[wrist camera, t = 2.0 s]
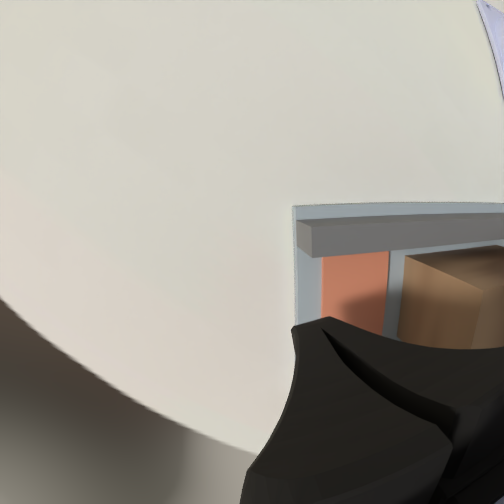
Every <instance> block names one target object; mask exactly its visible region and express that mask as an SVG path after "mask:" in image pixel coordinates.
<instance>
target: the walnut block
mask: <svg viewBox="0 0 504 504" xmlns="http://www.w3.org/2000/svg"><path fill="white" fill-rule="evenodd" d="M397 337H398V338H399V339H400V340H401V341H402V342H406V343H411V344H416V345H421V346H427V347H435V348H447V349H486V348H497V347H504V247H502V246H499V245H490V246H482V247H474V248H465V249H457V250H449V251H440V252H431V253H422V254H414V255H405V260H404V275H403V286H402V297H401V306H400V314H399V322H398V329H397Z"/></svg>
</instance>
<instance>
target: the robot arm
mask: <svg viewBox="0 0 504 504" xmlns="http://www.w3.org/2000/svg"><path fill="white" fill-rule="evenodd" d="M476 3H477V6H478V8H479V11H480V14H481V16H482V19H483V22H484V25H485V27H486V30H487V33H488V37H489V40H490V43H491V46H492V50H493V53H494V57H495V61H496V64H497V68H498V73H499V77H500V81H501V86H502V91H503V96H504V13H502V12H501V11H499V10H498V9H496V8H495V7H493V6H491V5H490V4H488V3H487V2H485V1H483V0H477V1H476ZM291 333H292V338H293V344H294V349H295V355H296V360H295V368H294V375H293V380H292V385H291V389H290V392H289V396H288V399H287V402H286V404H285V407H284V410H283V412H282V415H281V417H280V419H279V421H278V423H277V425H276V427H275V429H274V431H273V433H272V435H271V436H270V438H269V440H268V442H267V443H266V445H265V447H264V448H263V449H262V451H261V452H260V454H259V455H258V456H257V458H256V459H255V461H254V462H253V463H252V465H251V466H250V467H249V469H248V470H247V472H246V476H245V480H244V484H243V489H242V494H241V499H240V504H504V347H497V348H486V349H447V348H435V347H427V346H421V345H416V344H411V343H406V342H402V341H398V340H394V339H391V338H387V337H384V336H381V335H378V334H375V333H372V332H369V331H366V330H364V329H361V328H359V327H356V326H354V325H351V324H349V323H346V322H344V321H341V320H339V319H336V318H334V317H331V316H327V317H324V318H320V319H317V320H313V321H310V322H306V323H303V324H299V325H295V326H293V328H292V329H291Z"/></svg>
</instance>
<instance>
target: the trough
mask: <svg viewBox="0 0 504 504" xmlns="http://www.w3.org/2000/svg"><path fill="white" fill-rule="evenodd" d="M292 212H293V237H294V272H295V325H299V324H303V323H306V322H310V321H313V320H317V319H320V318H324V317H327V316H331V317H334V318H336V319H339V320H341V321H344V322H346V323H349V324H351V325H354V326H356V327H359V328H361V329H364V330H366V331H369V332H372V333H375V334H378V335H381V336H384V337H387V338H391V339H394V340H398V341H401V340H400V339H399V338H398V337H397V329H398V322H399V314H400V306H401V297H402V286H403V275H404V260H405V255H414V254H422V253H431V252H440V251H449V250H457V249H465V248H474V247H482V246H490V245H499V246H502V247H504V203H476V202H387V203H348V204H322V205H300V206H292ZM295 360H296V355H295Z"/></svg>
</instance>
